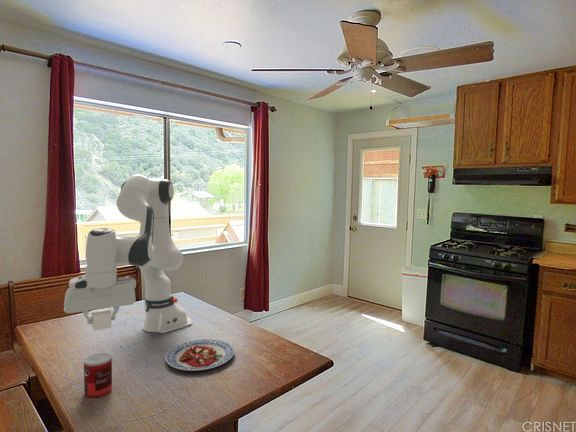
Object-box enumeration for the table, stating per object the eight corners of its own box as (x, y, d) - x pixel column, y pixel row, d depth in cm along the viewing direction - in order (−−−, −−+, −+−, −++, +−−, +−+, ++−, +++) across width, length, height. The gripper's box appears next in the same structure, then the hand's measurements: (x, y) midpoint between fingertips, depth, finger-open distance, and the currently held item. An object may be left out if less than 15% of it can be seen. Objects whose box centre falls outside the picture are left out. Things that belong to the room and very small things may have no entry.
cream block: (108, 322, 115) (108, 308, 114) (111, 327, 111) (111, 312, 110) (91, 325, 112) (91, 310, 112) (93, 330, 108) (93, 314, 107)
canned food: (91, 385, 114) (90, 353, 114) (116, 384, 115) (115, 352, 114) (79, 398, 107) (78, 364, 106) (106, 398, 108) (105, 363, 107)
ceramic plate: (150, 367, 128) (150, 359, 127) (193, 340, 152) (193, 333, 151) (209, 382, 118) (209, 373, 118) (245, 350, 142) (245, 343, 142)
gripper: (134, 274, 119) (133, 313, 120) (63, 280, 107) (63, 324, 108) (138, 277, 114) (137, 318, 115) (64, 285, 102) (64, 330, 103)
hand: (101, 321), depth 111 cm, fingers closed on cream block, 5 cm apart
